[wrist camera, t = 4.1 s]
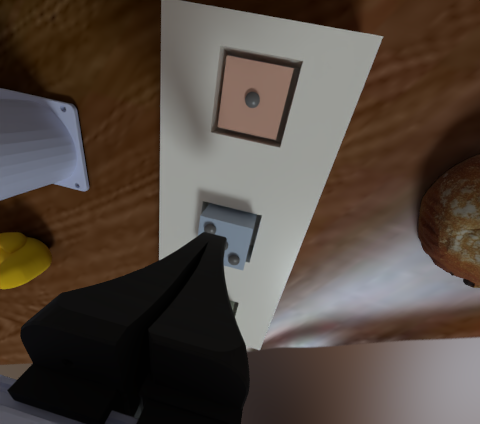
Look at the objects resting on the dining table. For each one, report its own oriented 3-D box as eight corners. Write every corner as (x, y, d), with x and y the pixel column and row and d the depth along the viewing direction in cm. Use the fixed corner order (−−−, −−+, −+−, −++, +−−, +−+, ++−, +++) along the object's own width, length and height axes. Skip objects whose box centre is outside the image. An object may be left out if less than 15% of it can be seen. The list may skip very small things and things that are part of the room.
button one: (225, 124, 16) (216, 127, 14) (234, 63, 15) (226, 54, 12) (276, 135, 16) (275, 140, 14) (292, 74, 14) (294, 67, 12)
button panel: (170, 299, 27) (158, 320, 24) (183, 17, 14) (161, -4, 12) (261, 325, 26) (259, 350, 24) (362, 50, 13) (383, 36, 11)
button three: (204, 241, 19) (194, 259, 17) (209, 202, 18) (199, 216, 15) (247, 252, 19) (242, 272, 17) (256, 214, 17) (253, 230, 15)
